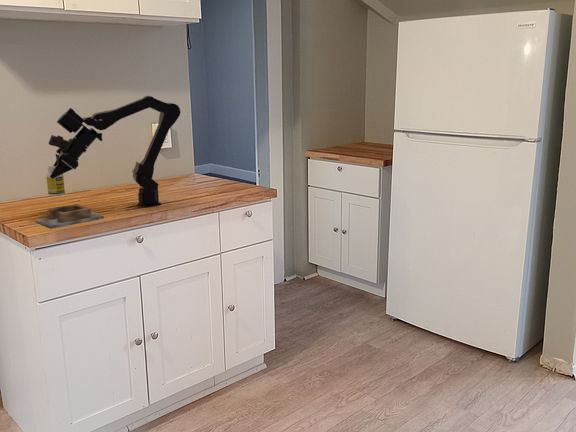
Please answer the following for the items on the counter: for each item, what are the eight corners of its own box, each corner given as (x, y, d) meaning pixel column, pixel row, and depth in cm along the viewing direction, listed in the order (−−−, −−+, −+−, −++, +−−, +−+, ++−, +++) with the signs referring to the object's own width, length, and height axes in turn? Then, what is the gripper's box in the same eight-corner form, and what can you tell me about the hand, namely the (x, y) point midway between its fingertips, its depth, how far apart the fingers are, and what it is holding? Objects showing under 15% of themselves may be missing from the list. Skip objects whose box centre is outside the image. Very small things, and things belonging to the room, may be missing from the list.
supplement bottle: (58, 196, 190) (55, 168, 188) (45, 196, 192) (41, 167, 189) (68, 193, 195) (65, 165, 193) (55, 192, 197) (52, 165, 194)
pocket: (86, 212, 196) (85, 201, 196) (104, 218, 188) (103, 207, 188) (35, 221, 184) (34, 210, 183) (51, 228, 176) (50, 216, 175)
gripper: (59, 124, 198) (29, 157, 196) (63, 128, 181) (31, 164, 179) (85, 145, 203) (56, 177, 201) (91, 151, 186) (60, 186, 185)
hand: (50, 176), depth 191 cm, fingers closed on supplement bottle, 5 cm apart
